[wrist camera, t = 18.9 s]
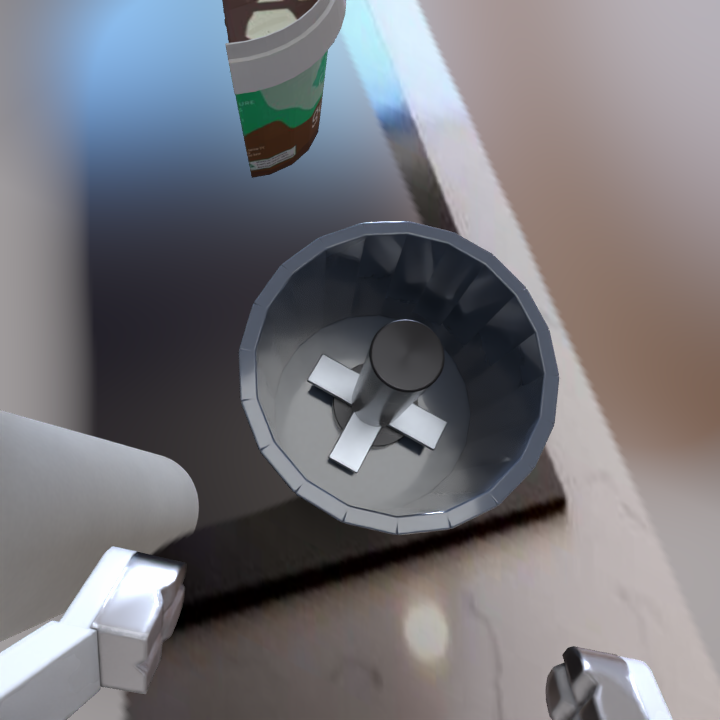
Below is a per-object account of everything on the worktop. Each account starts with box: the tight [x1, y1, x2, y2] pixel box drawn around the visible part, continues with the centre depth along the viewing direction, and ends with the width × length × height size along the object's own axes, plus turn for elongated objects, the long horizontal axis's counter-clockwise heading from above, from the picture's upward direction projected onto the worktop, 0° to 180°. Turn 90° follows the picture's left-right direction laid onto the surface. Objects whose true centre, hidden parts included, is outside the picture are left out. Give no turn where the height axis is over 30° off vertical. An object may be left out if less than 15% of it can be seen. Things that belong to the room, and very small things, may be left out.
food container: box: [222, 0, 346, 177], centre depth 27 cm, size 12×6×10 cm, turn 11°
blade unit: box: [307, 319, 447, 473], centre depth 21 cm, size 7×7×10 cm
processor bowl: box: [239, 221, 559, 535], centre depth 22 cm, size 12×12×10 cm
